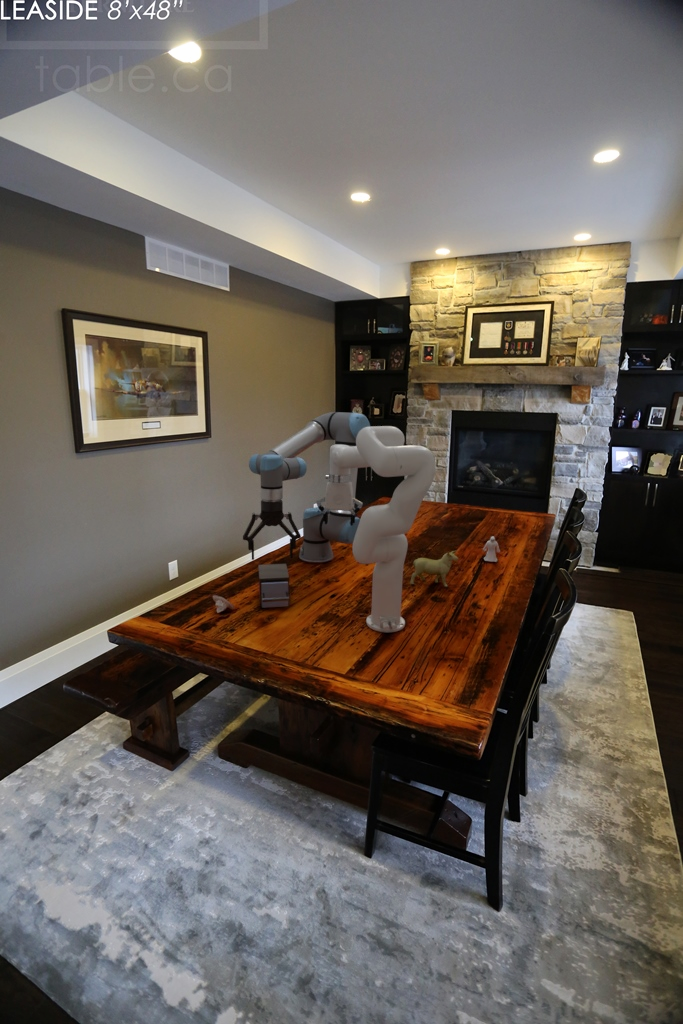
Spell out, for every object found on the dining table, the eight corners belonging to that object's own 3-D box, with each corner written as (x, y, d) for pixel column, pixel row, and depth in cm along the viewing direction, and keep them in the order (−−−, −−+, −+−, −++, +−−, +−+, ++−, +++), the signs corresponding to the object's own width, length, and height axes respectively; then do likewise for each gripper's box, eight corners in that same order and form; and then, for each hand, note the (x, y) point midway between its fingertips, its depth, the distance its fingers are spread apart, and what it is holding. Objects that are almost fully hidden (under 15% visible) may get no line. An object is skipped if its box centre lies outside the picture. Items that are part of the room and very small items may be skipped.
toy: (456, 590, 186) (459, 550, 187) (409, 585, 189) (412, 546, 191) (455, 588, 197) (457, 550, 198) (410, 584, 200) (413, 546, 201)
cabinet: (289, 605, 175) (289, 577, 172) (260, 607, 173) (259, 578, 170) (286, 590, 188) (286, 563, 185) (259, 591, 186) (258, 564, 183)
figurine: (481, 562, 222) (483, 536, 219) (482, 556, 230) (484, 531, 227) (499, 564, 220) (501, 538, 217) (499, 558, 228) (501, 533, 225)
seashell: (218, 620, 170) (203, 603, 170) (229, 610, 174) (214, 593, 173) (227, 616, 164) (211, 598, 164) (238, 606, 168) (222, 587, 167)
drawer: (289, 613, 166) (289, 589, 164) (262, 615, 165) (262, 591, 163) (285, 591, 184) (285, 569, 182) (260, 593, 182) (260, 570, 180)
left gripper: (306, 496, 179) (305, 553, 184) (235, 497, 175) (236, 555, 180) (308, 501, 172) (308, 559, 177) (234, 502, 168) (236, 562, 173)
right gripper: (314, 479, 179) (314, 525, 184) (362, 481, 177) (361, 528, 181) (318, 476, 187) (317, 520, 191) (364, 478, 185) (363, 522, 189)
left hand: (272, 557), depth 178 cm, fingers open, 13 cm apart
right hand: (339, 524), depth 186 cm, fingers open, 9 cm apart
